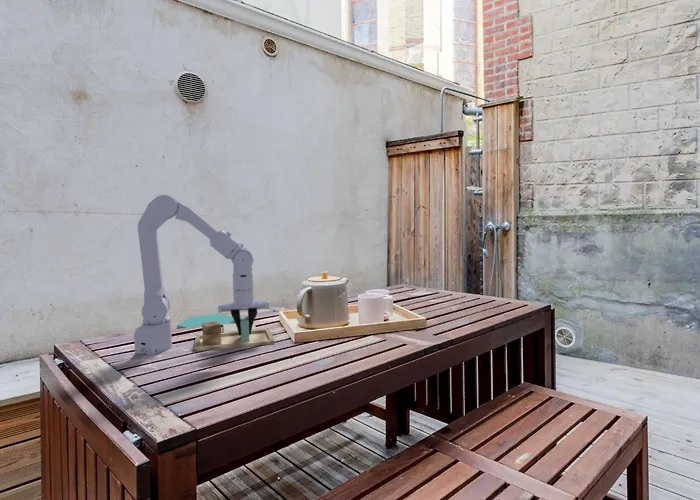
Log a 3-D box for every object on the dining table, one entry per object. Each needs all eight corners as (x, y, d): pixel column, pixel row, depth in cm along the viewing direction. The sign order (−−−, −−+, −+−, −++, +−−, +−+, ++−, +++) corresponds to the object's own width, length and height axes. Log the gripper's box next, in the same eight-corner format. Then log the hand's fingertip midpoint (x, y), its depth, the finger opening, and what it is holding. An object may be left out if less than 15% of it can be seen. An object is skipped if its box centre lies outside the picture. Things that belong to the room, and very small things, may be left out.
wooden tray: (194, 355, 121) (193, 348, 120) (196, 341, 134) (196, 334, 134) (274, 347, 127) (274, 340, 127) (269, 334, 140) (269, 328, 140)
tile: (223, 338, 137) (223, 332, 137) (223, 330, 146) (223, 324, 146) (256, 335, 140) (256, 329, 139) (254, 327, 149) (254, 321, 149)
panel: (241, 343, 127) (240, 321, 127) (240, 336, 134) (239, 315, 134) (249, 342, 128) (248, 320, 128) (247, 336, 135) (247, 315, 134)
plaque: (220, 336, 144) (241, 318, 163) (220, 330, 143) (241, 313, 163) (169, 334, 145) (196, 317, 165) (169, 329, 145) (196, 312, 165)
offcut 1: (206, 335, 125) (206, 326, 125) (202, 331, 129) (201, 323, 129) (221, 332, 128) (221, 324, 127) (216, 329, 131) (216, 321, 131)
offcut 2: (203, 345, 125) (202, 335, 125) (203, 340, 130) (203, 331, 130) (221, 344, 127) (220, 333, 127) (221, 339, 132) (220, 329, 131)
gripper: (217, 293, 124) (219, 340, 125) (269, 289, 128) (270, 335, 129) (217, 288, 131) (219, 333, 132) (266, 285, 135) (268, 329, 136)
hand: (244, 334), depth 131 cm, fingers closed on panel, 2 cm apart
